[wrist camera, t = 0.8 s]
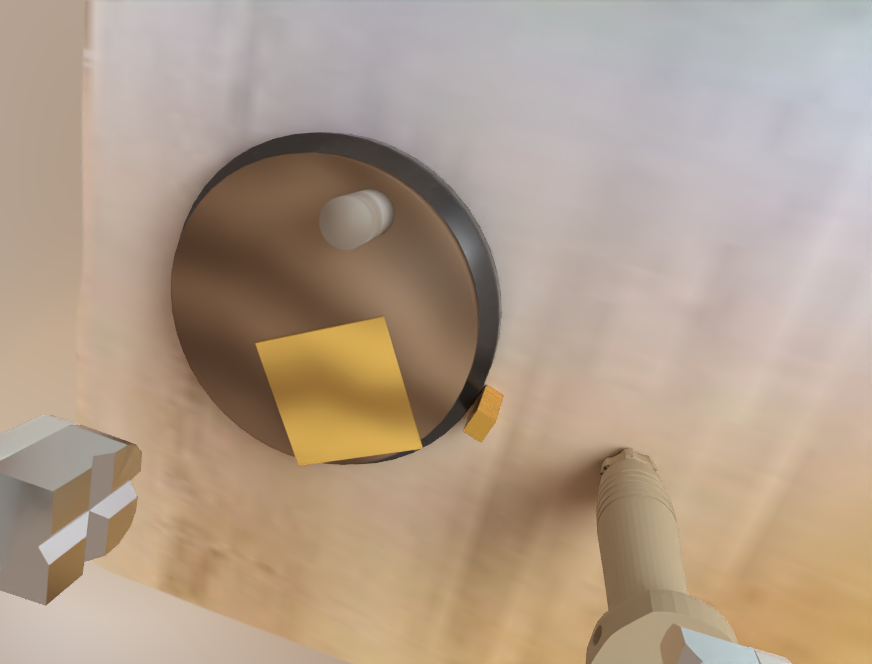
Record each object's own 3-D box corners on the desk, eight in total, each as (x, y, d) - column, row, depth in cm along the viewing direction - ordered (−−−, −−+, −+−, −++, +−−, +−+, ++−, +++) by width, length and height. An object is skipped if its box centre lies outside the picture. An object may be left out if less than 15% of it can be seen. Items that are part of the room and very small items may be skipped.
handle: (567, 494, 38) (561, 708, 24) (614, 409, 35) (638, 591, 21) (640, 527, 37) (678, 765, 23) (693, 444, 35) (770, 652, 21)
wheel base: (261, 62, 33) (227, 55, 30) (592, 268, 33) (594, 283, 30) (148, 346, 41) (111, 365, 38) (417, 517, 40) (403, 551, 37)
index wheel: (386, 503, 38) (357, 559, 33) (148, 351, 39) (83, 385, 34) (543, 267, 32) (536, 292, 27) (253, 87, 32) (192, 78, 27)
